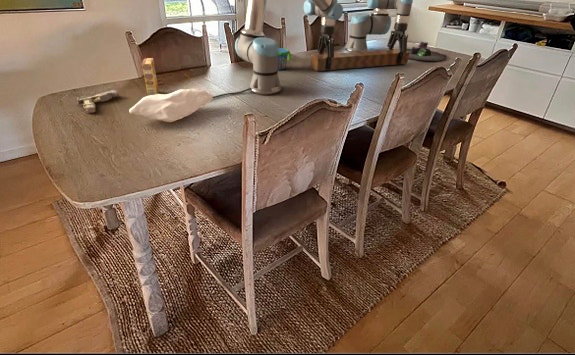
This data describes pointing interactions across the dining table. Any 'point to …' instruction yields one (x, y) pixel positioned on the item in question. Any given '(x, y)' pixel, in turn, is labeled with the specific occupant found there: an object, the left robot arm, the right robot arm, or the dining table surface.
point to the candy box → (150, 76)
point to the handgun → (95, 100)
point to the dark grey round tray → (424, 53)
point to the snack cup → (283, 58)
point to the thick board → (358, 59)
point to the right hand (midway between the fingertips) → (394, 61)
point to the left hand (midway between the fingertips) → (324, 66)
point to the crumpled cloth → (171, 104)
